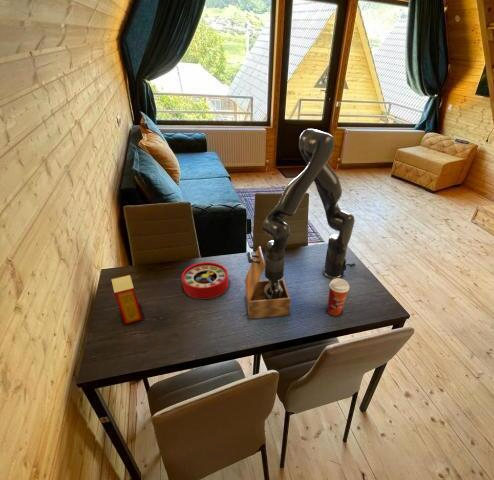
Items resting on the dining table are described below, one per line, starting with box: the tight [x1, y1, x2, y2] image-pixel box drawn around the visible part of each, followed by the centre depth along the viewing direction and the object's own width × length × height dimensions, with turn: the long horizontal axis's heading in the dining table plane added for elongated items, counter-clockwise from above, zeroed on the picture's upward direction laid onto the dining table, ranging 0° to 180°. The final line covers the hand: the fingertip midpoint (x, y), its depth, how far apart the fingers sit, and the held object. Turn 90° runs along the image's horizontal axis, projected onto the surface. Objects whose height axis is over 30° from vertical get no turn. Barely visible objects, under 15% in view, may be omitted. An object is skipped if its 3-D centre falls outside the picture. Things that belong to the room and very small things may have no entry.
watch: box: [264, 283, 283, 300], centre depth 133 cm, size 6×8×11 cm
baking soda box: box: [110, 274, 144, 325], centre depth 122 cm, size 10×6×16 cm
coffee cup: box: [327, 277, 350, 317], centre depth 132 cm, size 8×8×15 cm
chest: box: [245, 278, 291, 320], centre depth 133 cm, size 17×14×9 cm
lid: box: [244, 245, 265, 302], centre depth 123 cm, size 18×14×5 cm
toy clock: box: [181, 261, 229, 300], centre depth 143 cm, size 20×6×20 cm
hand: (272, 298), depth 134 cm, fingers closed on watch, 4 cm apart
